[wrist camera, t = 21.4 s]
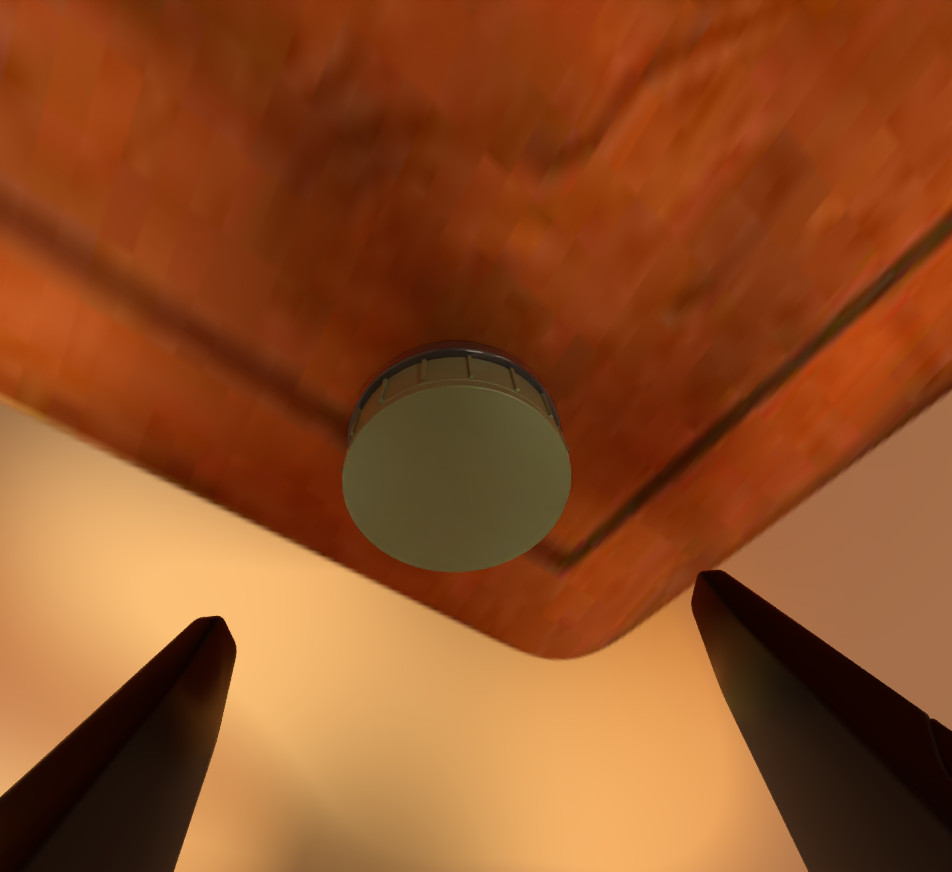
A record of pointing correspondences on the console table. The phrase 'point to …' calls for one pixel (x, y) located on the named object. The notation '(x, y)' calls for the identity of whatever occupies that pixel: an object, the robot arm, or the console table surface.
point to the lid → (456, 466)
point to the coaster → (445, 351)
